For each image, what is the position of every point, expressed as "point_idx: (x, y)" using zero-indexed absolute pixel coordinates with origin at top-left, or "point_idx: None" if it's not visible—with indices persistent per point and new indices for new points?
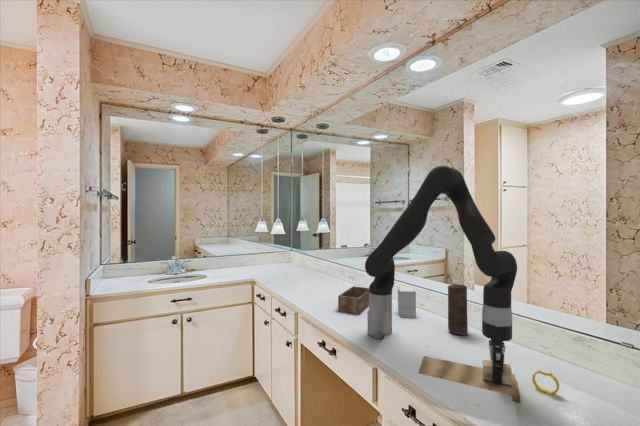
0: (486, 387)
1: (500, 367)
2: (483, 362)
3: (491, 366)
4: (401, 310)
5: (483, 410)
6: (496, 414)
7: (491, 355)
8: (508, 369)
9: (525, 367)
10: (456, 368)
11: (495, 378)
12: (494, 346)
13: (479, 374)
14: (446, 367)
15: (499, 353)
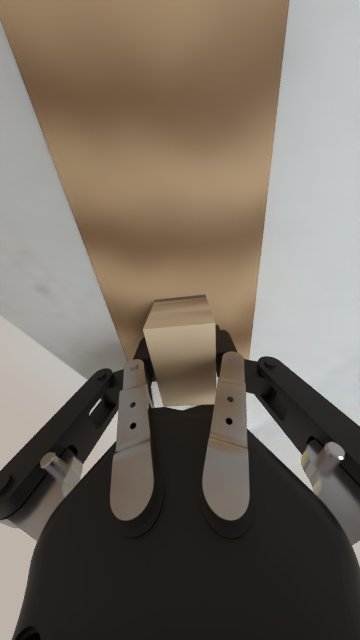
0: (118, 312)
1: (112, 404)
2: (177, 328)
3: (156, 358)
4: None
5: (32, 305)
6: (46, 331)
7: (119, 417)
8: (171, 400)
9: (326, 377)
10: (198, 173)
11: (138, 348)
12: (33, 560)
13: (196, 284)
14: (178, 100)
15: (8, 524)
